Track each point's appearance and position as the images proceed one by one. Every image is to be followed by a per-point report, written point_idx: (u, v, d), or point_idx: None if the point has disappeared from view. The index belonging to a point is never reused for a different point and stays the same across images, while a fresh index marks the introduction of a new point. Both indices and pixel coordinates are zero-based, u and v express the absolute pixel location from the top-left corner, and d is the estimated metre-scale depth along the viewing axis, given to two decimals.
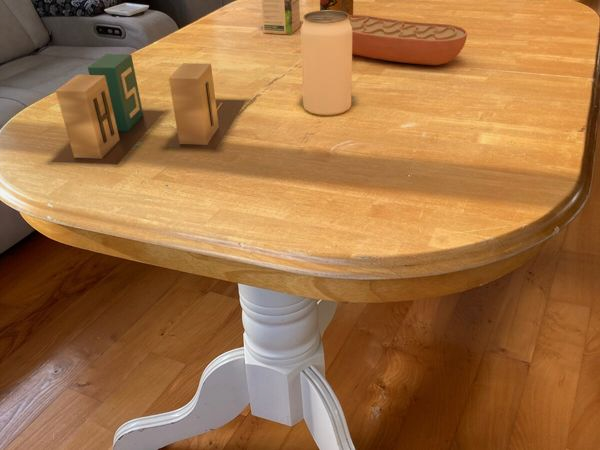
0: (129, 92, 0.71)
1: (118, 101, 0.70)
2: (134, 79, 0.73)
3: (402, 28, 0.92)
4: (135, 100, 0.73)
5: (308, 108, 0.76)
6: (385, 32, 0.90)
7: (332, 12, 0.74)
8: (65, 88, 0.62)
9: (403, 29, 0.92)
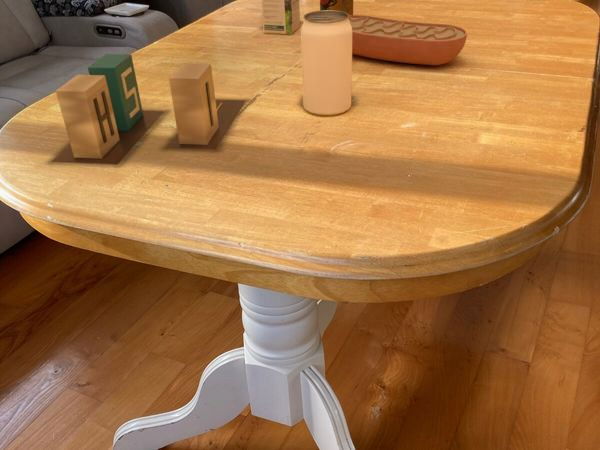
0: (129, 92, 0.71)
1: (118, 101, 0.70)
2: (134, 79, 0.73)
3: (402, 28, 0.92)
4: (135, 100, 0.73)
5: (308, 108, 0.76)
6: (385, 32, 0.90)
7: (332, 12, 0.74)
8: (65, 88, 0.62)
9: (403, 29, 0.92)
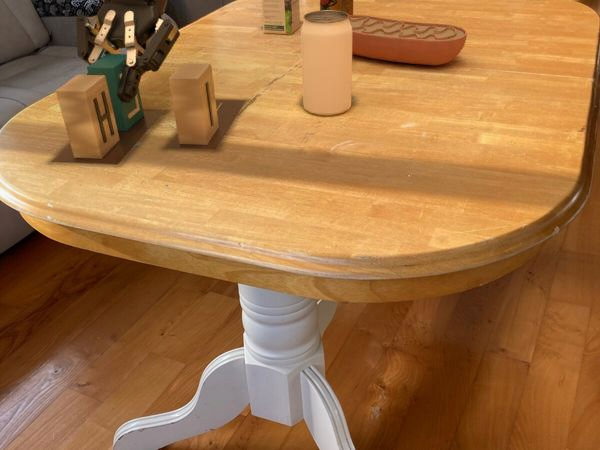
0: None
1: (116, 101, 0.70)
2: None
3: (402, 28, 0.92)
4: (135, 100, 0.73)
5: (308, 108, 0.76)
6: (385, 32, 0.90)
7: (332, 12, 0.74)
8: (65, 88, 0.62)
9: (403, 29, 0.92)
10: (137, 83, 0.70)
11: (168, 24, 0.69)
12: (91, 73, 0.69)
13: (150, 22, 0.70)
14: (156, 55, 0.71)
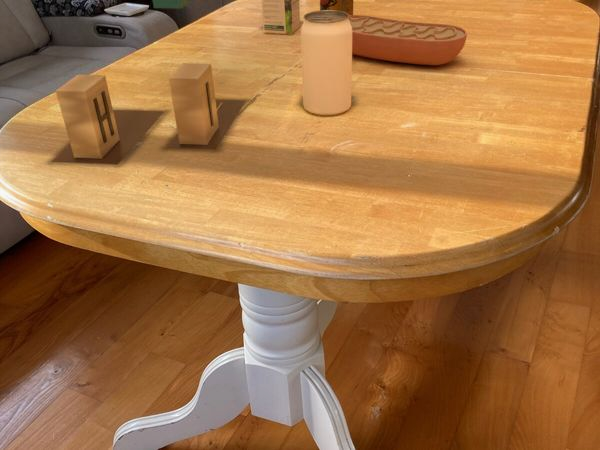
0: None
1: None
2: None
3: (402, 28, 0.92)
4: None
5: (308, 108, 0.76)
6: (385, 32, 0.90)
7: (332, 12, 0.74)
8: (65, 88, 0.62)
9: (403, 29, 0.92)
10: None
11: None
12: None
13: None
14: None
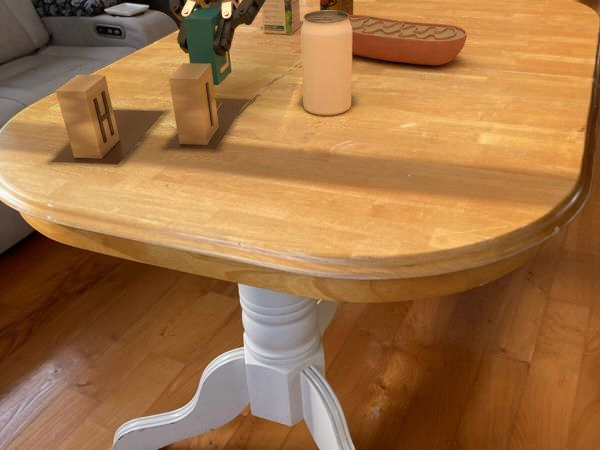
0: None
1: (211, 54, 0.70)
2: None
3: (402, 28, 0.92)
4: (225, 55, 0.73)
5: (308, 108, 0.76)
6: (385, 32, 0.90)
7: (332, 12, 0.74)
8: (65, 88, 0.62)
9: (403, 29, 0.92)
10: (231, 36, 0.70)
11: None
12: (187, 25, 0.68)
13: None
14: (249, 8, 0.70)
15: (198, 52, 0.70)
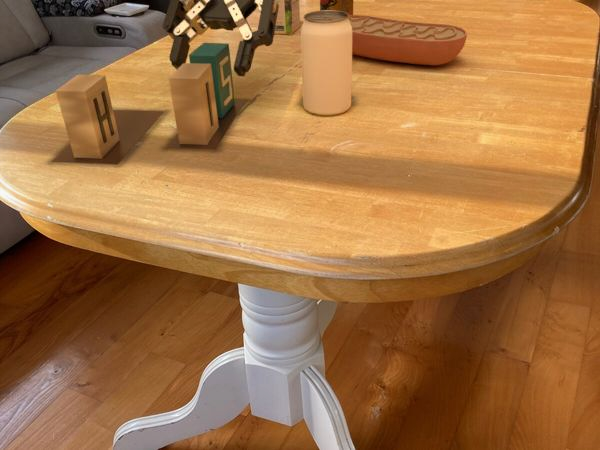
0: (225, 80, 0.73)
1: (215, 88, 0.72)
2: (229, 68, 0.75)
3: (402, 28, 0.92)
4: (229, 88, 0.75)
5: (308, 108, 0.76)
6: (385, 32, 0.90)
7: (332, 12, 0.74)
8: (65, 88, 0.62)
9: (403, 29, 0.92)
10: (251, 57, 0.71)
11: None
12: (193, 61, 0.71)
13: (248, 3, 0.72)
14: None
15: None
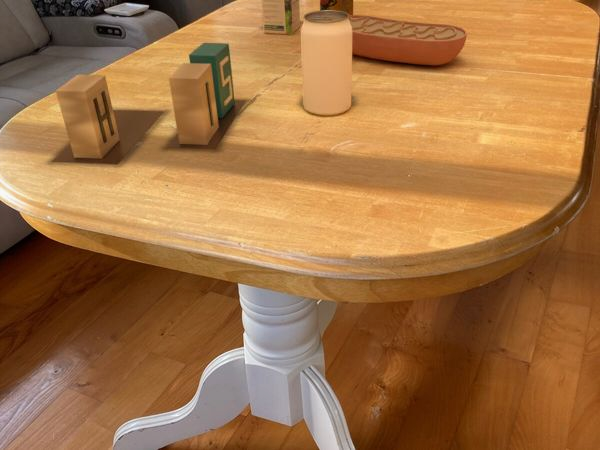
0: (225, 80, 0.73)
1: (215, 88, 0.72)
2: (229, 68, 0.75)
3: (402, 28, 0.92)
4: (229, 88, 0.75)
5: (308, 108, 0.76)
6: (385, 32, 0.90)
7: (332, 12, 0.74)
8: (65, 88, 0.62)
9: (403, 29, 0.92)
10: None
11: None
12: (193, 61, 0.71)
13: None
14: None
15: None
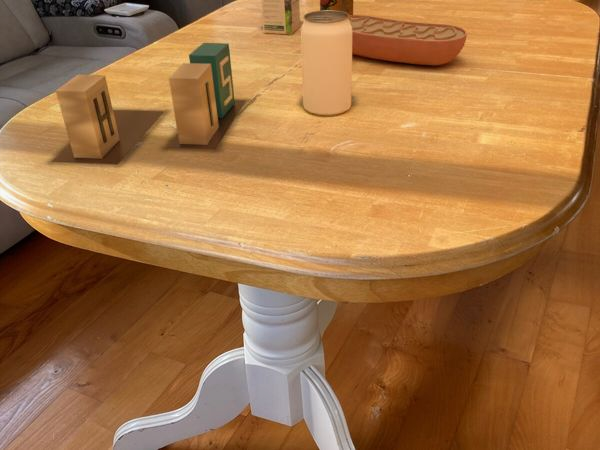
0: (225, 80, 0.73)
1: (215, 88, 0.72)
2: (229, 68, 0.75)
3: (402, 28, 0.92)
4: (229, 88, 0.75)
5: (308, 108, 0.76)
6: (385, 32, 0.90)
7: (332, 12, 0.74)
8: (65, 88, 0.62)
9: (403, 29, 0.92)
10: None
11: None
12: (193, 61, 0.71)
13: None
14: None
15: None
